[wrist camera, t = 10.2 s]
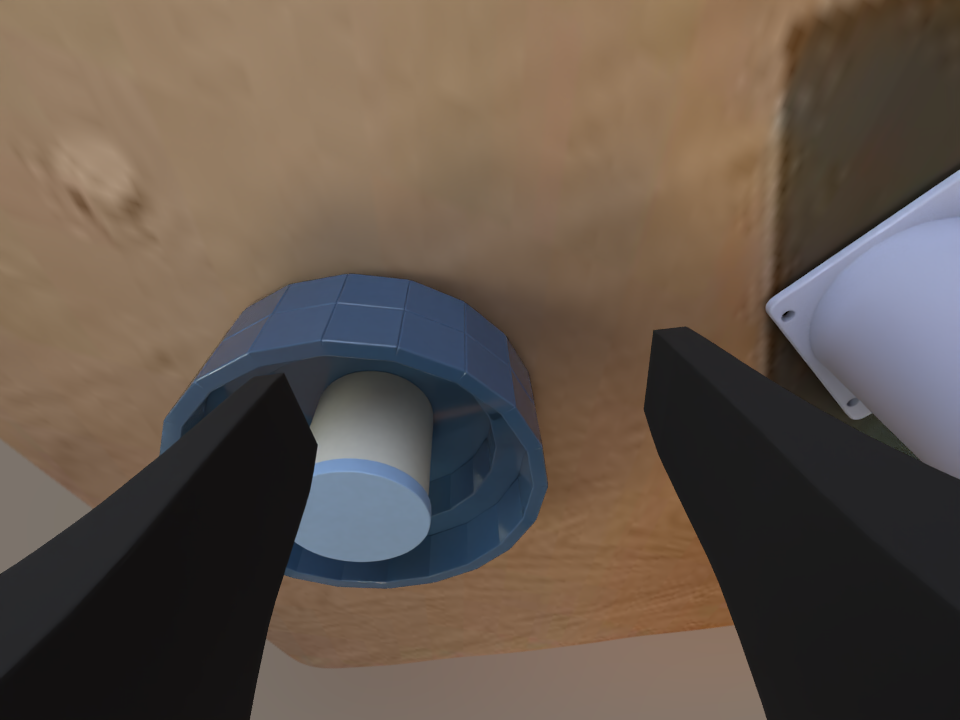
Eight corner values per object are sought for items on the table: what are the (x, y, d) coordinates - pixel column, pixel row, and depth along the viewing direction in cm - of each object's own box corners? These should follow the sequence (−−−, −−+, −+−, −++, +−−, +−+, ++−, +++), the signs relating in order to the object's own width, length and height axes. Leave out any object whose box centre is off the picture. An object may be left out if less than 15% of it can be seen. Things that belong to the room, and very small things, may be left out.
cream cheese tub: (461, 411, 22) (461, 516, 17) (388, 470, 24) (371, 577, 20) (362, 345, 19) (332, 447, 15) (291, 418, 22) (247, 525, 17)
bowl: (592, 398, 22) (621, 483, 18) (404, 530, 28) (395, 617, 24) (336, 188, 16) (295, 248, 12) (164, 414, 22) (98, 505, 18)
